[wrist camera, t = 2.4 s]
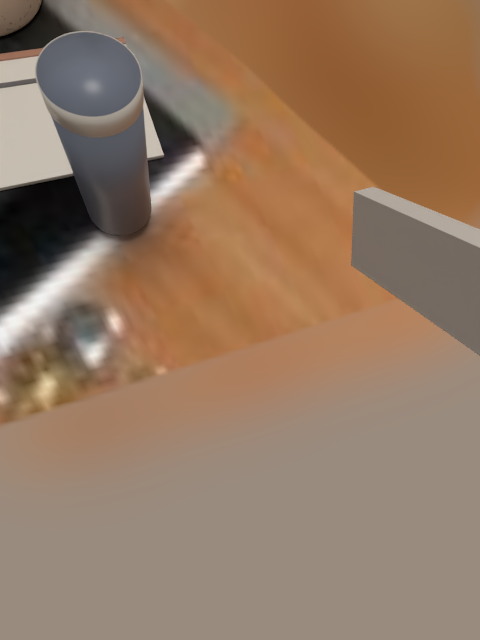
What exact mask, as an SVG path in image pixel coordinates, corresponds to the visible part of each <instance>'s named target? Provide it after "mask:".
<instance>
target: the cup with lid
mask: <svg viewBox="0 0 480 640" xmlns="http://www.w3.org/2000/svg"><path fill="white" fill-rule="evenodd" d="M35 77H36V82H37V84H38V87H39V89H40V92H41V95H42V97H43V100H44V102H45V105H46V107H47V110H48V111H49V113H50V115H51V117H52V120H53V122H54V125H55V127H56V130H57V132H58V135H59V138H60V140H61V143H62V145H63V148H64V151H65V153H66V156H67V158H68V161H69V164H70V166H71V169H72V171H73V174H74V177H75V179H76V182H77V184H78V187H79V190H80V192H81V195H82V197H83V200H84V203H85V205H86V208H87V210H88V213H89V216H90V218H91V220H92V221H93V223H94V224H95V225H96V226H97V227H98V228H99V229H101V230H102V231H104V232H106V233H109V234H112V235H128V234H132V233H134V232H136V231H138V230H140V229H141V228H142V227H143V226H144V225H145V224H146V223H147V221H148V219H149V217H150V214H151V198H150V186H149V173H148V161H147V148H146V135H145V123H144V110H143V103H144V95H143V82H142V71H141V67H140V64H139V62H138V60H137V58H136V57H135V55H134V54H133V53H132V51H131V50H130V49H129V48H128V47H127V46H125V45H124V44H123V43H122V42H120V41H118V40H117V39H115V38H113V37H111V36H108V35H105V34H102V33H98V32H91V31H78V32H71V33H67V34H64V35H62V36H59V37H57V38H55V39H54V40H52V41H51V42H50V43H48V44H47V45H46V46H45V47H44V48H43V50H42V51H41V52H40V54H39V56H38V58H37V61H36V65H35Z"/></svg>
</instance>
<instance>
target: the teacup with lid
mask: <svg viewBox="0 0 480 640" xmlns="http://www.w3.org/2000/svg"><path fill="white" fill-rule="evenodd" d="M41 1H42V0H0V36H4V35H8V34H10V33H13V32H15V31H17V30H19V29H21V28H22V27H24V26H25V25H26V24H28V23H29V22H30V21H31V20H32V19H33V17H34V16H35V15H36V13H37V11H38V10H39V7H40V5H41Z"/></svg>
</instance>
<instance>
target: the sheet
mask: <svg viewBox="0 0 480 640" xmlns="http://www.w3.org/2000/svg"><path fill="white" fill-rule="evenodd" d="M115 39H117V40H118V41H120V42H122V43H123V44H124V45H125V46H126V43H125V40H124V37H122V38H115ZM42 50H43V48H40V49H33V50H25V51H18V52H10V53H3V54H0V191H2V190H7V189H12V188H17V187H21V186H26V185H31V184H36V183H41V182H46V181H51V180H56V179H61V178H65V177H70V176H74V174H73V171H72V169H71V166H70V164H69V161H68V158H67V156H66V153H65V151H64V148H63V145H62V143H61V140H60V138H59V135H58V132H57V130H56V127H55V125H54V122H53V120H52V117H51V115H50V113H49V111H48V110H47V107H46V105H45V102H44V100H43V97H42V95H41V92H40V89H39V87H38V84H37V82H36V77H35V65H36V61H37V58H38V56H39V54H40V52H41V51H42ZM143 110H144V123H145V135H146V148H147V161H149V160H154V159H158V158H163V157H164V154H163V151H162V149H161V146H160V143H159V140H158V137H157V134H156V131H155V128H154V125H153V122H152V119H151V116H150V114H149V111H148V108H147V105H146V102H145V99H144V103H143Z"/></svg>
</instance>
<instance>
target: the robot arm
mask: <svg viewBox="0 0 480 640" xmlns="http://www.w3.org/2000/svg"><path fill="white" fill-rule="evenodd" d="M351 265H352V266H353V267H354V268H356V269H357V270H359V271H360V272H362V273H363V274H364V275H366V276H367V277H369V278H370V279H371V280H373V281H374V282H376V283H377V284H379V285H380V286H381V287H383V288H384V289H386V290H387V291H389V292H390V293H391V294H393V295H394V296H396V297H397V298H399V299H400V300H402V301H403V302H405V303H406V304H407V305H408V306H410V307H411V308H413V309H414V310H416V311H417V312H419V313H420V314H421V315H423V316H424V317H426V318H427V319H428V320H430V321H431V322H433V323H434V324H436V325H437V326H438V327H440V328H441V329H443V330H444V331H446V332H447V333H448V334H450V335H451V336H453V337H454V338H455V339H457V340H458V341H460V342H461V343H463V344H464V345H465V346H467V347H468V348H470V349H471V350H472V351H474V352H475V353H477V354H479V355H480V230H479V229H477V228H475V227H472V226H470V225H467V224H465V223H462V222H460V221H457V220H455V219H452V218H450V217H447V216H445V215H443V214H440V213H437V212H435V211H433V210H430V209H428V208H425V207H423V206H420V205H418V204H415V203H413V202H410V201H408V200H405V199H403V198H400V197H398V196H395V195H393V194H390V193H388V192H385V191H383V190H380V189H378V188H375V187H371V188H367V189H363V190H359V191H355V192H354V207H353V233H352V260H351Z"/></svg>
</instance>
